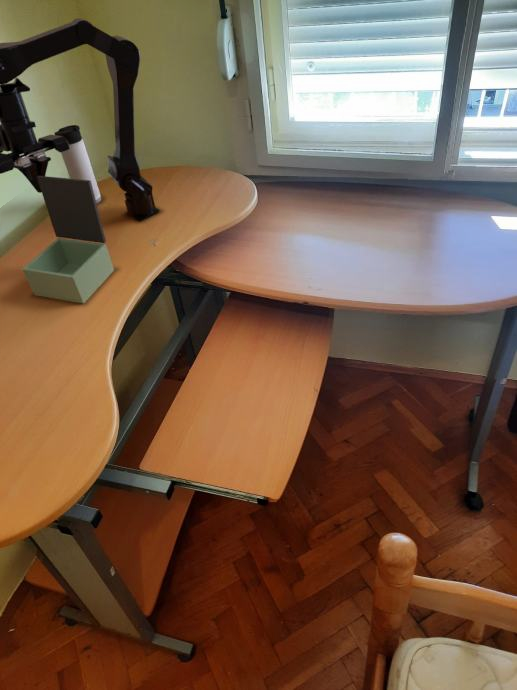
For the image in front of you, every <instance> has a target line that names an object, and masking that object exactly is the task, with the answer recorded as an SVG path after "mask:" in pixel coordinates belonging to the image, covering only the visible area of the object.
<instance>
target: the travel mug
mask: <svg viewBox="0 0 517 690" xmlns="http://www.w3.org/2000/svg"><path fill="white" fill-rule="evenodd" d="M53 135H58V136H64V137H65V138H66V140H67V141H68V143H69V147H70V149H69V150H66V151H64V152H60V154H61V158H62V160H63V162H64V165H65V168H66V171H67V173H68V177H69V179H79V180H90V181H91V184H92V188H93V192H94V196H95V200H96V204H97V205H98V203H100V202H101V201H102V196H101V192H100V189H99V186H98V183H97V180H96V176H95V173H94V171H93V167H92V164H91V162H90V161H91V160H90V158H89V154H88V151H87V148H86V145H85V142H84V139H83V136H82V133H81V128H80V126H79V124H78V125H77V124H72V125H68V126H63V127H61V128H59V129H58V130H57V131H55V132H54V134H53Z"/></svg>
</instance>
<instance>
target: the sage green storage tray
mask: <svg viewBox="0 0 517 690" xmlns="http://www.w3.org/2000/svg"><path fill="white" fill-rule="evenodd" d="M21 271H22V272H23V274H24V277H25V278H26V281H27V282H28V285H29V286H30V288H31V290H32V292H33V294H34V296H38V297H42V298H43V297H45V298H50V299H55V300H61V301H67V302H72V303H78V304H83V305H84V304H85V302H87V301H88V300H89V298H91V297H92V295H93V294H94V293H96V291H97V290H98V289H99V288H100V286H101V285H102V284H103V283H104V282H105V281H106V280H107V279H108V278H109V277H110V276H111V274H112V273H113V272H114V271H115V268H114V264H113V262H112V259H111V256H110V253H109V250H108V247H107V244H106V243H99V242H91V241H84V240H76V239H69V238H61V237H57V238H56V239H55V240H54V241H53V242H51V244H50V245H48V246H47V247H46V248H45V249H44V250H42V251H41V252H40V253H39V254H38V255H37V256H35V257H34V258H33V259H32V260H31V261H30V262H28V263H27V264H26V265H25V266H24V267H23V268H22V269H21Z"/></svg>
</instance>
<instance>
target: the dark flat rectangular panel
mask: <svg viewBox="0 0 517 690" xmlns="http://www.w3.org/2000/svg"><path fill="white" fill-rule="evenodd" d="M37 179H38V182H39V185H40V188H41V191H42V192H41V195H42V197H43V200H44V201H43V202H44V203H45V206H46V210H47V213H48V216H49V218H50V222H51V226H52V229H53V232H54V235H55V237H56V238H61V239H69V240H76V241H84V242H91V243H99V244H106V242H107V240H106V235H105V231H104V227H103V224H102V219H101V217H100V212H99V207H98V203H97V204H96V200H95V196H94V192H93V188H92V184H91V181H90V180H79V179H70V177H69V178H68V177H58V176H46V175H45V176H38V177H37Z"/></svg>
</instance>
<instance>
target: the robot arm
mask: <svg viewBox="0 0 517 690" xmlns="http://www.w3.org/2000/svg"><path fill="white" fill-rule="evenodd" d="M83 45H88V46H90V47H92V48H93V49H95V50H97V51H99V52H100V53H102V54H103V55H105V61H106V66H107V70H108V72H109V76H110V79H111V82H112V92H113V93H112V95H113V117H114V119H113V120H114V137H115V139H114V140H115V141H114V142H115V149H114V153H113V155H107V162H108V169H107V173H108V174H109V175H110V177H111V179H112V180H113V181H114V183H115V184H116V185H117V186H118V187H119V188H120V189H121V190H122V191H123V192H125V193H124V198H125V200H124V203H125V207H126V215H127V216H130V217H131V218H134V219H135V220H137V221H139V222H141V221H144V220H145V219H148V218H150V217H152V216H154V215H156V214H158V213H160V208H157V207H156V204H155V199H154V195H153V185H152V184H150V182H148V181H147V179H146V178H145V177H143V175H141V170H140V166H139V162H138V159H137V156H136V152H135V151H136V150H135V149H136V148H135V146H136V145H135V144H136V143H135V100H134V99H135V98H134V97H135V95H134V94H135V93H134V89H135V84H136V82H137V79H138V76H139V70H140V65H141V51H140V49H139V48H138V47H137V45H136V44H135V43H134V42H132V41H131V40H129V39H127V38H125V37H123V36H120V35H110V34H108V33H106V32H104V31H103V30H101V29H100V28H98V27H96V26H94V25H93V24H92V23H91V22H89V21H88V20H87V19H84V18H81V17H77V18H74V19H73V20H72V21H70V22H68V23H65V24H62V25H59V26H57V27H54V28H52V29H48V30H46V31H44V32H41V33H39V34H35V35H33V36H30V37H28V38H25V39H23V40H19V41H9V42H0V174H5V173H8V172H10V171H13V170H14V169H17V170H18V171H19V172H20V173H21V174H22V175H23V176H24V177H25V178H26V180H27V181H28V182H29V183H30V184H31V186H32V187H33V188H34V189H35V191H36V192H37V193H39V194H42V191H41V188H40V185H39V182H38V179H37V177H38V176H46V175H47V170H48V166H49V162H50V161H52V157H50V156H47V155H46V152H48V151H52V150H55V151H56V152H58V153H61V152H64V151H66V150H69V149H70V147H69V143H68V141H67V140H66V138H65V137H64V136H58V135H55V134H48V135H45V136H42V137H39V138H38V139H37V136H36V134H35V131H34V128H36V127H37V126H36V125H37V124H36V121H34V120H31V119H30V117H29V113H28V109H27V107H26V103H25V101H24V98H23V95H22V93H27V92H30V91H31V88H30V86H28V85H27V84H25V83H23V81H21V79H20V78H19V76H21V75H22V74H23V73H24V72H25V71H27V70H28V69H29V68H30V67H31V66H33V65H35V64H37V63H41V62H43V61H45V60H48V59H50V58H53V57H56V56H58V55H61V54H63V53H65V52H68V51H71V50H73V49H76V48H78V47H81V46H83ZM13 80H14V81H13ZM11 81H13V82H11ZM3 152H8V153H3Z"/></svg>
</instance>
